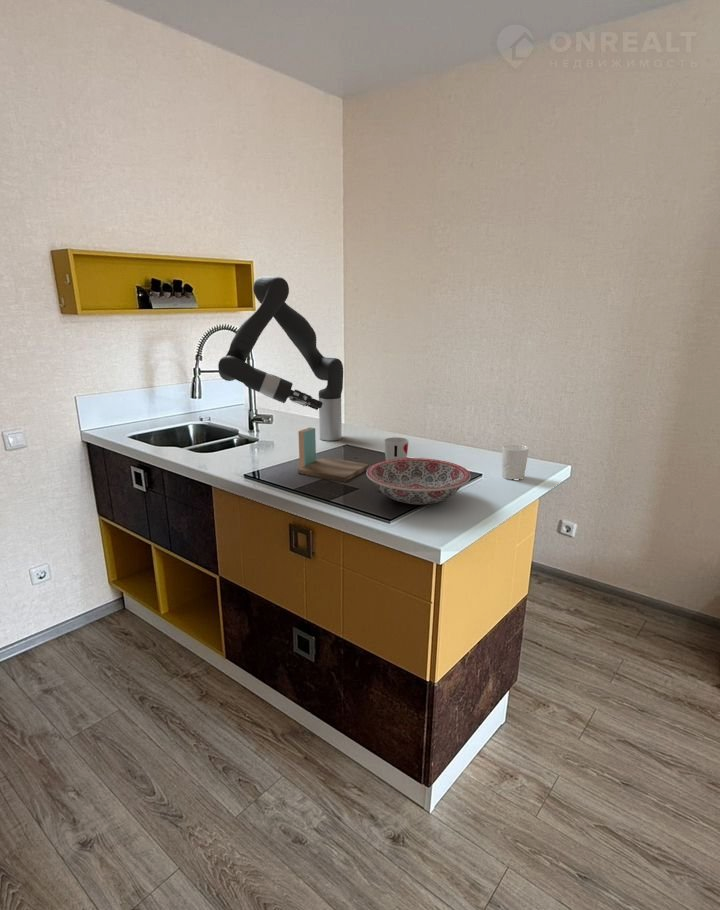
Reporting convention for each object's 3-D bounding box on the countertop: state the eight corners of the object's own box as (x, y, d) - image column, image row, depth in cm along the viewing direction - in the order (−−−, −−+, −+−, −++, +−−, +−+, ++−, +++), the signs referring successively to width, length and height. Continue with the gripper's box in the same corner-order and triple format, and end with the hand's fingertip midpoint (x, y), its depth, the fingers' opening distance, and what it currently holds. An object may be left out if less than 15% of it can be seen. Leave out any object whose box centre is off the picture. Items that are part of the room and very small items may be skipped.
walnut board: (324, 461, 186) (324, 457, 185) (369, 468, 177) (369, 464, 177) (298, 473, 172) (298, 469, 172) (344, 481, 164) (344, 477, 163)
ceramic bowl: (469, 522, 133) (470, 492, 131) (356, 514, 138) (356, 485, 136) (469, 485, 160) (470, 460, 158) (375, 479, 166) (376, 455, 164)
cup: (391, 473, 172) (392, 444, 169) (379, 467, 179) (379, 438, 176) (412, 470, 176) (413, 441, 173) (399, 464, 182) (400, 436, 180)
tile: (310, 463, 183) (309, 427, 180) (316, 464, 182) (315, 428, 178) (299, 468, 178) (298, 431, 174) (305, 469, 177) (304, 432, 173)
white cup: (521, 482, 163) (524, 451, 160) (497, 478, 167) (499, 448, 164) (528, 476, 169) (531, 446, 166) (504, 472, 173) (506, 443, 170)
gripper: (281, 375, 170) (327, 394, 173) (279, 380, 184) (321, 398, 187) (272, 396, 169) (318, 415, 172) (271, 399, 183) (313, 417, 186)
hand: (320, 406), depth 180 cm, fingers open, 8 cm apart
